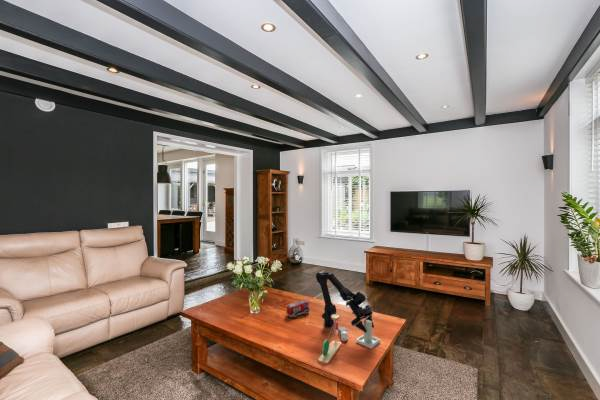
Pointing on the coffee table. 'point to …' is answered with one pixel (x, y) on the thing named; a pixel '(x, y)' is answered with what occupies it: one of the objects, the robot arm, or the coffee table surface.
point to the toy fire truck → (298, 308)
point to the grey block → (341, 330)
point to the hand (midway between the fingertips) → (370, 329)
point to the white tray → (369, 345)
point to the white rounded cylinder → (344, 336)
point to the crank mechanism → (330, 345)
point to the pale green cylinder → (368, 331)
